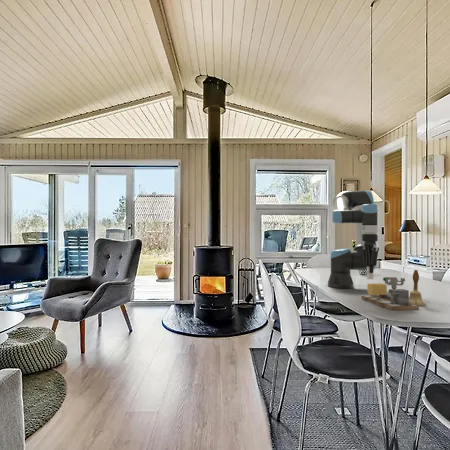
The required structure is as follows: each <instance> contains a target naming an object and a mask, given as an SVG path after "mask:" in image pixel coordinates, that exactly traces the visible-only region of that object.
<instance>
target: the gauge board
mask: <svg viewBox="0 0 450 450" xmlns="http://www.w3.org/2000/svg"><path fill="white" fill-rule="evenodd" d="M409 291H410V290H408V289H405V288H399V289H398V288H396V289H392V288H390V289H388V294H390V295H373V296H371V295H370V294H368V295H361V300H363V301H366V302H369V303H372V304H374V305H376V304H377V305H376V306H380V307H382V308H384V309H387V310H390V311H410V310H413V311H414V310H415V311H416V310H420V308H419V307H420V305H414V304H411V303H410V302H409V296H410V292H409ZM393 294H394V297H393Z"/></svg>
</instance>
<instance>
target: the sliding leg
mask: <svg viewBox="0 0 450 450" xmlns="http://www.w3.org/2000/svg"><path fill="white" fill-rule="evenodd" d="M387 287H388V285H387V284H385V283H379V282H378V283H367V294H368V295H371V296H376V295H387Z"/></svg>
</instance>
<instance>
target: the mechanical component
mask: <svg viewBox="0 0 450 450" xmlns="http://www.w3.org/2000/svg"><path fill="white" fill-rule="evenodd" d="M382 281H383V282H384V284H386V285H387V286H391V288H390V289H398V287H397V286H403V285H404V282H405V281H406V279H405V277H404V278H403V277H400V280H399V279H398V277H392V276H388V277H387V276H384V277H383V278H382ZM393 297H394V294H393Z"/></svg>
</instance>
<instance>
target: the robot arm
mask: <svg viewBox="0 0 450 450" xmlns="http://www.w3.org/2000/svg"><path fill="white" fill-rule="evenodd" d="M332 205H333V207H334V209H333V210H332V223H333V224H355V225H354V226H355V246H354V247H353V250H351V248H338V249H332V250H331V251H330V273H329V274H330V275H329V277H328V281H327V286H328V287H330V288H336V289H352V288H354V282H353V277H352V275H351V271H366V279H367V280H374V270H376V268H377V267H376V266H377V263H378V256H379V250H380V247H377V243H376V242H378V240H379V238H378V237H379V236H378V233H379V229H378V226H379V225H378V224H379V223H378V211H379V210H378V205H377V204H375V203H374V195H373V192H372V191H371V190H367V189H366V190H364V189H362V190H345V191H341V192H339V193H337V194H336V195H335V196H334V198H333V200H332Z"/></svg>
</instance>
